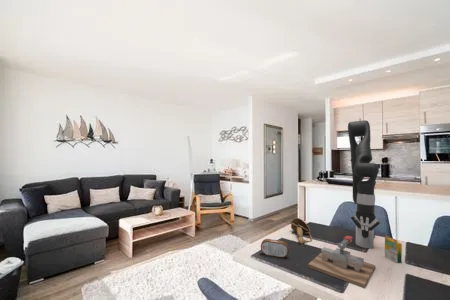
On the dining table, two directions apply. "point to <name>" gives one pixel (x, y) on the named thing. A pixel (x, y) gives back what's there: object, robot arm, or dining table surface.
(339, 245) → the lever
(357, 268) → the steel pipe and valve
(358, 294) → the dining table surface
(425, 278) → the dining table surface
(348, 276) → the walnut board
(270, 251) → the tin
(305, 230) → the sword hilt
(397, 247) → the crayon box
